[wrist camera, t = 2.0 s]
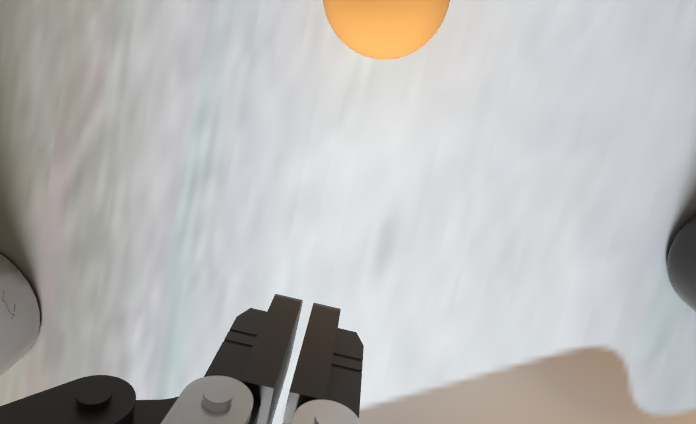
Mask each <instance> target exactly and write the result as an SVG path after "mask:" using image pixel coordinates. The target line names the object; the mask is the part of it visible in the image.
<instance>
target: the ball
mask: <svg viewBox="0 0 696 424" xmlns="http://www.w3.org/2000/svg"><path fill="white" fill-rule="evenodd" d="M449 1H450V0H323V4H324V9H325V13H326V16H327V18H328V21H329V23H330V25H331V27H332V29H333V30H334V32H335V33H336V35H337V36H338V37H339V38H340V39H341V41H342V42H343V43H344V44H346V45H347V46H348V47H349V48H350V49H352V50H354V51H355V52H357V53H359V54H361V55H363V56H366V57H370V58H374V59H396V58H400V57H403V56H406V55H408V54H411V53H413V52H414V51H416V50H418V49H419V48H421V47H422V46H423V45H425V44H426V43H427V42H428V41H429V40H430V39H431V38H432V37H433V35H434V34H435V33H436V32H437V30H438V29H439V27H440V25H441V24H442V22H443V20H444V18H445V15H446V12H447V9H448V6H449Z"/></svg>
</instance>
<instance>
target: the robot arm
mask: <svg viewBox="0 0 696 424" xmlns="http://www.w3.org/2000/svg"><path fill="white" fill-rule="evenodd" d="M302 301H303V300H299V299H295V298H291V297H286V296H282V295H278V294H275V296H274V298H273V300H272V303H271V305H270V307H269V309H268V312H266V311H261V310H257V309H253V308H250V309H248V310H247V311H245V312H244V313H242V314H240V315H239V316H237V317H236V319H235V321H234V323H233V325H232V327H231V328H230V331H229V332H228V334H227V336H226V338H225V340H224V342H223V343H222V345H221V347H220V349H219V350H218V352H217V354H216V356H215V358H214V360H213V361H212V363H211V365H210V367H209V369H208V371H207V372H206V374H205V376H204V377H203V378H200V379H197V380H195V381H193V382H191V383H190V384H189V385H188V386H186V388H185V389H184V390H183V392H182V393H181V394H180V396H179V397H175V398H171V399H164V400H136V394H135V391H134V389H133V387H132V386H131V385H130V384H129V383H128V382H126V381H124V380H122V379H120V378H117V377H113V376H107V375H95V376H88V377H83V378H80V379H77V380H74V381H71V382H68V383H65V384H62V385H60V386H57V387H54V388H51V389H48V390H45V391H43V392H40V393H37V394H34V395H31V396H28V397H26V398H23V399H20V400H17V401H14V402H11V403H9V404H6V405H3V406H0V424H272V420H273V417H274V414H275V410H276V407H277V404H278V400H279V397H280V393H281V390H282V387H283V383H284V380H285V377H286V373H287V369H288V366H289V362H290V358H291V353H292V349H293V344H294V340H295V335H296V330H297V326H298V321H299V316H300V312H301V307H302ZM339 316H340V309H339V308H334V307H330V306H326V305H321V304H317V303H314V304H313V307H312V311H311V315H310V318H309V322H308V326H307V329H306V333H305V337H304V340H303V344H302V348H301V351H300V355H299V359H298V362H297V366H296V370H295V373H294V377H293V381H292V384H291V388H290V392H289V396H288V400H287V405H286V410H285V414H284V419H283V423H282V424H361V422H360V420H359V408H360V392H361V377H362V373H361V372H362V360H363V347H364V346H363V344H362V342H361V340H360V338H359V336H358V335H357V333H356V332H352V331H348V330H344V329H339V328H338V322H339ZM39 327H40V311H39V308H38V304H37V300H36V297H35V295H34V293H33V291H32V289H31V287H30V285H29V283H28V282H27V280H26V279H25V277H24V276H23V275H22V273H21V272H20V271H19V270H18V269H17V268H16V267H15V266H14V265H13V264H12V263H11V262H10V261H9V260H8V259H7V258H5V257H4V256H3V255H1V254H0V376H1V375H2V374H3V373H5V372H6V371H7V370H8V369H9V368H10V367H12V366H13V365H14V364H15V363H16V362H17V361H19V360H20V359H21V358H22V357H23V356H24V355H25V354H26V353H27V352H28V351H29V350H30V349H31V348H32V346H33V344H34V342H35V341H36V339H37V336H38V332H39Z"/></svg>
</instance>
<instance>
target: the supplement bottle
mask: <svg viewBox="0 0 696 424" xmlns="http://www.w3.org/2000/svg"><path fill="white" fill-rule="evenodd" d="M667 271H668V277H669V280H670V283H671V285H672V287H673V289H674V290H675V292H676V293H677V295H678V296H679V297H680V298H681V299H682V300H683V301H684V302H685V303H686V304H688V305H689V306H690V307H691V308H692V309H693V310H694V311H695V312H696V215H694V216H693V217H692V218H691V219H690V220H689V221H688V222H687V223H686V224H685V225H684V226H683V227H682V228H681V229H680V231H679V232H678V233H677V235H676V237H675V238H674V240H673V242H672V244H671V247H670V250H669V254H668V259H667Z"/></svg>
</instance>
